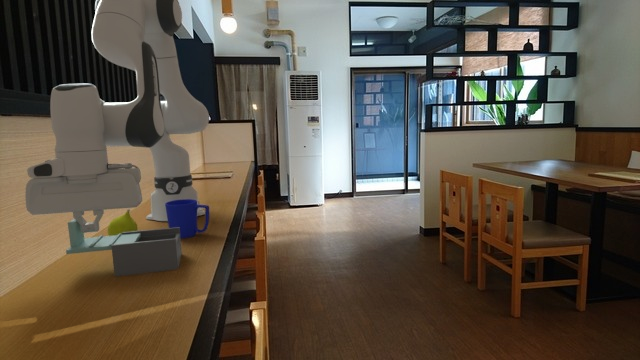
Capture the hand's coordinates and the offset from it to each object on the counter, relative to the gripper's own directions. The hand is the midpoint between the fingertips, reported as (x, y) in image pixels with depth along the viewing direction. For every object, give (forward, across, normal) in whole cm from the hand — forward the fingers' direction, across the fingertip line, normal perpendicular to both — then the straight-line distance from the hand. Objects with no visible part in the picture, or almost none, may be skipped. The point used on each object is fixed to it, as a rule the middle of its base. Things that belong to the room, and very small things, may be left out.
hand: (90, 231), depth 78 cm
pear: (+9, -1, -23) cm, 25 cm away
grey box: (+9, -11, 0) cm, 14 cm away
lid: (+3, -3, 0) cm, 4 cm away
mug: (+9, -18, -21) cm, 29 cm away
